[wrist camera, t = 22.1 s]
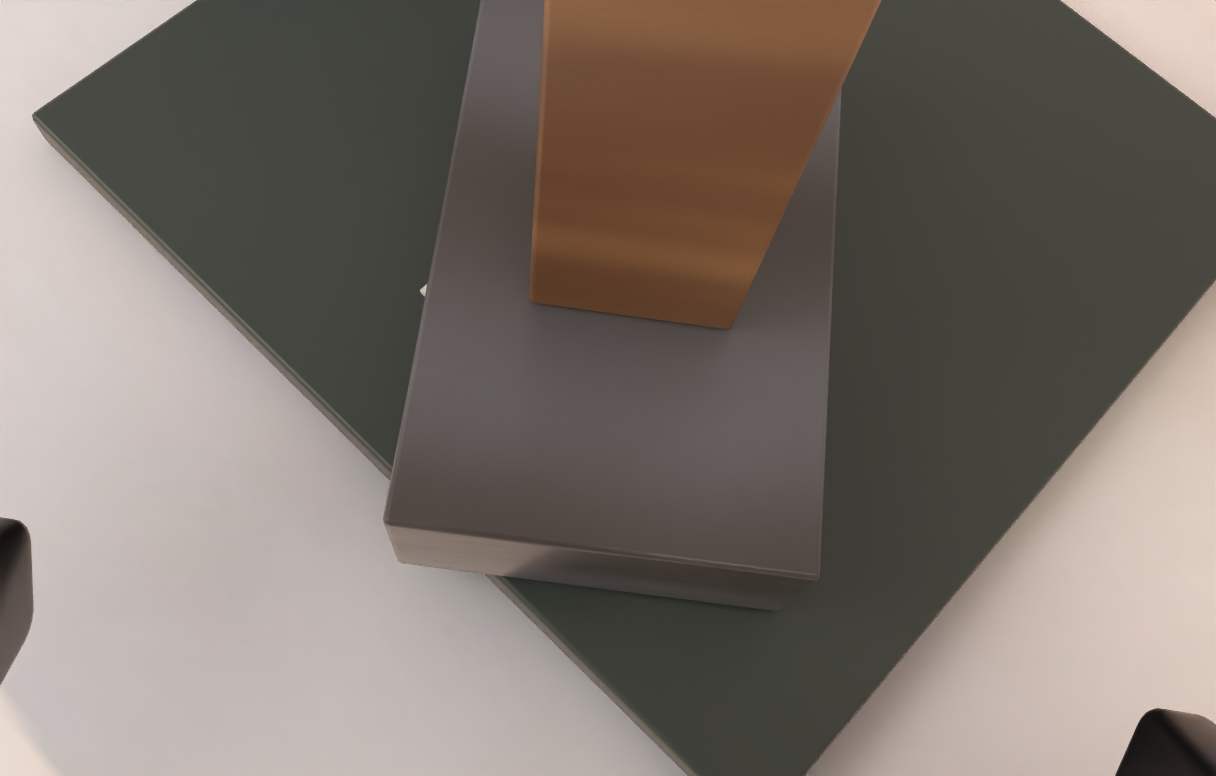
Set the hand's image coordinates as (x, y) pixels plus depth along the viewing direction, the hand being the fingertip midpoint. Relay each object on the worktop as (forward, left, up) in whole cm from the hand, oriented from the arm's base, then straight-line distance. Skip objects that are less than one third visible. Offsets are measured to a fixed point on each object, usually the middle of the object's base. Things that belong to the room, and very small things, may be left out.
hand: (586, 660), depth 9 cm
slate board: (+9, +5, -9) cm, 14 cm away
